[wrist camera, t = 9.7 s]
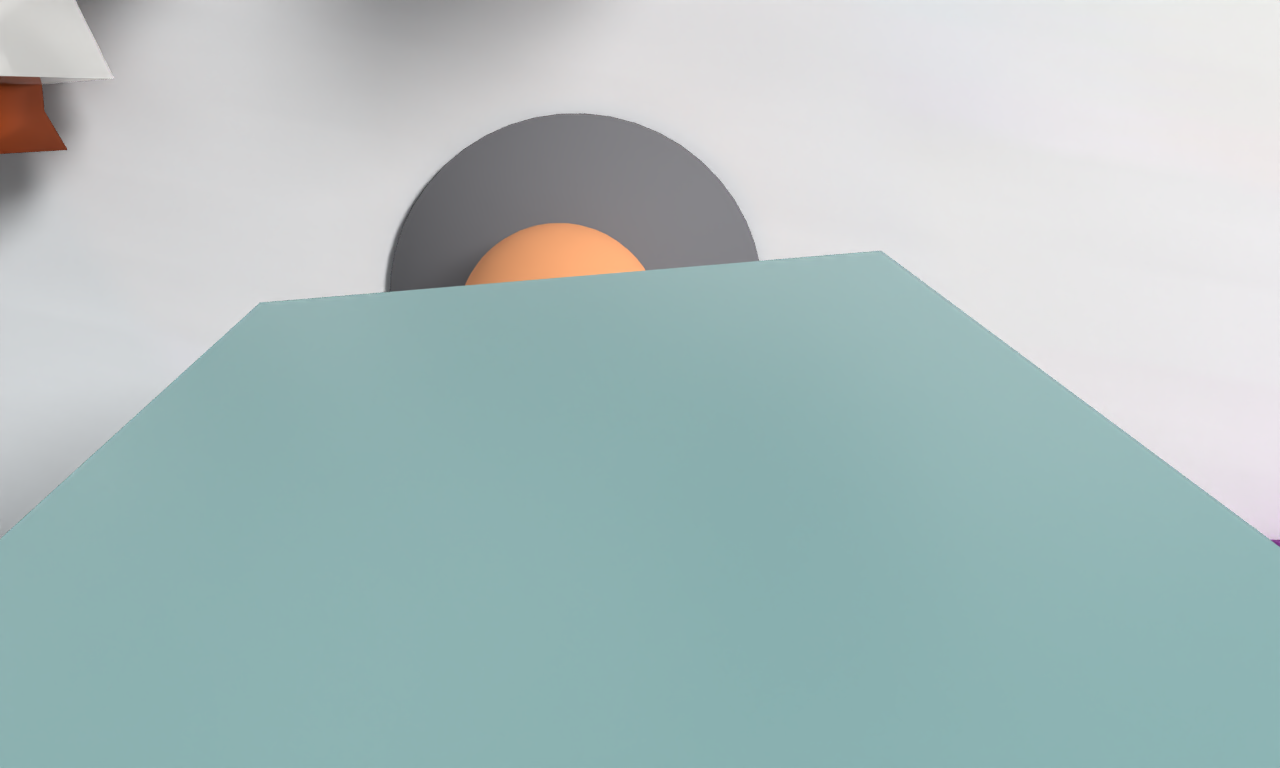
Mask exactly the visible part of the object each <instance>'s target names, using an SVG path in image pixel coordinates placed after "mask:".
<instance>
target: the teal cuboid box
mask: <svg viewBox="0 0 1280 768" xmlns="http://www.w3.org/2000/svg"><path fill="white" fill-rule="evenodd" d="M0 768H1280V547H1279V546H1278V545H1276V544H1275V543H1274V542H1272V541H1271V540H1270V539H1268V538H1267V537H1266V536H1264V535H1263V534H1262V533H1260V532H1259V531H1257V530H1256V529H1255V528H1253V527H1252V526H1251V525H1249V524H1248V523H1247V522H1245V521H1244V520H1243V519H1241V518H1240V517H1239V516H1237V515H1236V514H1235V513H1233V512H1232V511H1231V510H1229V509H1228V508H1227V507H1225V506H1224V505H1223V504H1221V503H1220V502H1218V501H1217V500H1216V499H1214V498H1213V497H1212V496H1210V495H1209V494H1208V493H1206V492H1205V491H1204V490H1202V489H1201V488H1200V487H1198V486H1197V485H1196V484H1194V483H1193V482H1192V481H1190V480H1189V479H1188V478H1186V477H1185V476H1183V475H1182V474H1181V473H1179V472H1178V471H1177V470H1175V469H1174V468H1173V467H1171V466H1170V465H1169V464H1167V463H1166V462H1165V461H1163V460H1162V459H1161V458H1159V457H1158V456H1157V455H1155V454H1154V453H1153V452H1151V451H1150V450H1149V449H1147V448H1146V447H1144V446H1143V445H1142V444H1140V443H1139V442H1138V441H1136V440H1135V439H1134V438H1132V437H1131V436H1130V435H1128V434H1127V433H1126V432H1124V431H1123V430H1122V429H1120V428H1119V427H1118V426H1116V425H1115V424H1114V423H1112V422H1111V421H1109V420H1108V419H1107V418H1105V417H1104V416H1103V415H1101V414H1100V413H1099V412H1097V411H1096V410H1095V409H1093V408H1092V407H1091V406H1089V405H1088V404H1087V403H1085V402H1084V401H1083V400H1081V399H1080V398H1079V397H1077V396H1076V395H1075V394H1073V393H1072V392H1070V391H1069V390H1068V389H1066V388H1065V387H1064V386H1062V385H1061V384H1060V383H1058V382H1057V381H1056V380H1054V379H1053V378H1052V377H1050V376H1049V375H1048V374H1046V373H1045V372H1044V371H1042V370H1041V369H1040V368H1038V367H1037V366H1036V365H1034V364H1033V363H1031V362H1030V361H1029V360H1027V359H1026V358H1025V357H1023V356H1022V355H1021V354H1019V353H1018V352H1017V351H1015V350H1014V349H1013V348H1011V347H1010V346H1009V345H1007V344H1006V343H1005V342H1003V341H1002V340H1001V339H999V338H998V337H996V336H995V335H994V334H992V333H991V332H990V331H988V330H987V329H986V328H984V327H983V326H982V325H980V324H979V323H978V322H976V321H975V320H974V319H972V318H971V317H970V316H968V315H967V314H966V313H964V312H963V311H962V310H960V309H959V308H957V307H956V306H955V305H953V304H952V303H951V302H949V301H948V300H947V299H945V298H944V297H943V296H941V295H940V294H939V293H937V292H936V291H935V290H933V289H932V288H931V287H929V286H928V285H927V284H925V283H924V282H922V281H921V280H920V279H918V278H917V277H916V276H914V275H913V274H912V273H910V272H909V271H908V270H906V269H905V268H904V267H902V266H901V265H900V264H898V263H897V262H896V261H894V260H893V259H892V258H890V257H889V256H888V255H886V254H885V253H883V252H882V251H872V252H860V253H848V254H836V255H824V256H812V257H800V258H788V259H776V260H764V261H753V262H741V263H729V264H717V265H705V266H693V267H681V268H669V269H657V270H645V271H633V272H621V273H609V274H597V275H585V276H573V277H561V278H549V279H537V280H525V281H514V282H502V283H490V284H478V285H466V286H454V287H442V288H430V289H418V290H406V291H394V292H382V293H370V294H358V295H346V296H334V297H322V298H310V299H298V300H287V301H275V302H263V303H259V304H258V305H257V306H256V307H255V308H254V309H253V310H251V311H250V312H249V313H248V314H247V315H246V316H245V317H244V318H243V319H242V320H240V321H239V322H238V323H237V324H236V325H235V326H234V327H233V328H232V329H231V330H229V331H228V332H227V333H226V334H225V335H224V336H223V337H222V338H221V339H220V340H218V341H217V342H216V343H215V344H214V345H213V346H212V347H211V348H210V349H209V350H207V351H206V352H205V353H204V354H203V355H202V356H201V357H200V358H199V359H198V360H196V361H195V362H194V363H193V364H192V365H191V366H190V367H189V368H188V369H187V370H185V371H184V372H183V373H182V374H181V375H180V376H179V377H178V378H177V379H176V380H174V381H173V382H172V383H171V384H170V385H169V386H168V387H167V388H166V389H165V390H163V391H162V392H161V393H160V394H159V395H158V396H157V397H156V398H155V399H154V400H152V401H151V402H150V403H149V404H148V405H147V406H146V407H145V408H144V409H143V410H141V411H140V412H139V413H138V414H137V415H136V416H135V417H134V418H133V419H132V420H130V421H129V422H128V423H127V424H126V425H125V426H124V427H123V428H122V429H121V430H119V431H118V432H117V433H116V434H115V435H114V436H113V437H112V438H111V439H110V440H108V441H107V442H106V443H105V444H104V445H103V446H102V447H101V448H100V449H99V450H97V451H96V452H95V453H94V454H93V455H92V456H91V457H90V458H89V459H88V460H86V461H85V462H84V463H83V464H82V465H81V466H80V467H79V468H78V469H77V470H75V471H74V472H73V473H72V474H71V475H70V476H69V477H68V478H67V479H66V480H64V481H63V482H62V483H61V484H60V485H59V486H58V487H57V488H56V489H55V490H53V491H52V492H51V493H50V494H49V495H48V496H47V497H46V498H45V499H44V500H42V501H41V502H40V503H39V504H38V505H37V506H36V507H35V508H34V509H33V510H31V511H30V512H29V513H28V514H27V515H26V516H25V517H24V518H23V519H22V520H20V521H19V522H18V523H17V524H16V525H15V526H14V527H13V528H12V529H11V530H9V531H8V532H7V533H6V534H5V535H4V536H3V537H2V538H1V539H0Z"/></svg>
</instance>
